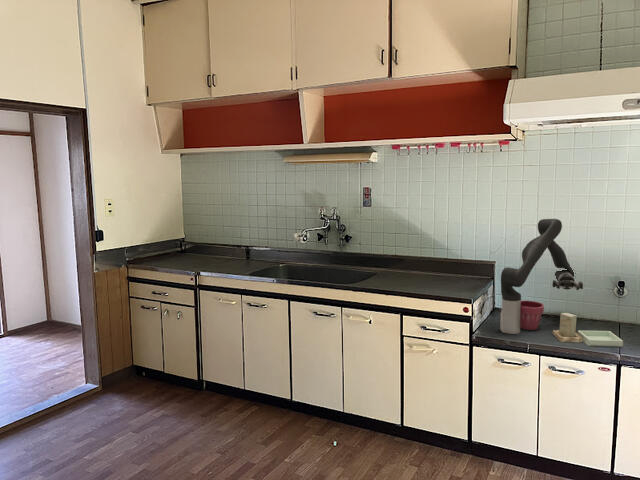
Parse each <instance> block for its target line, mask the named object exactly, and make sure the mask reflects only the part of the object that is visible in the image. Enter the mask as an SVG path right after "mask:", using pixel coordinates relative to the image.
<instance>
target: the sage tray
mask: <svg viewBox="0 0 640 480" xmlns="http://www.w3.org/2000/svg"><path fill="white" fill-rule="evenodd" d="M577 334H578V335H579V336H580V337H581V338H583V339H582V343H585V345H586V346H587V347H596V348H597V347H599V348H600V347H601V348H602V347H603V348H606V347H607V348H609V347H610V348H623V347H624V340H622V339H621V338H620V337H618V336H617V335H615V334H614V333H613V332H612V331H610V330H577Z"/></svg>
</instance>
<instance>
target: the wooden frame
mask: <svg viewBox="0 0 640 480" xmlns="http://www.w3.org/2000/svg"><path fill="white" fill-rule="evenodd" d="M552 335H553V336H554V337H555V338H556V339H557V340H558V342H560V343H583V341H582V339H583V338H581V337H580V336H579V335H578V332H576V331H575V337H562V336H561V335H560V334H559V329H557V330H555V329H553V330H552Z"/></svg>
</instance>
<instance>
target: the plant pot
mask: <svg viewBox="0 0 640 480" xmlns="http://www.w3.org/2000/svg"><path fill="white" fill-rule="evenodd" d="M544 310H545V305H544V304H543V303H541V302H539V301H532V300H521V317H520V329H523V330H528V331H533V330H537V329H538V327H539V325H540V321H541V317H542V314H543V313H544Z"/></svg>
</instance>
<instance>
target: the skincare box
mask: <svg viewBox="0 0 640 480" xmlns="http://www.w3.org/2000/svg"><path fill="white" fill-rule="evenodd" d="M559 319H560V320H559V329H558V330H559V334H560V335H561V336H562V337H575V332H576V330H577V315H576V314H572V313H569V312H562V313H560V318H559Z"/></svg>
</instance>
